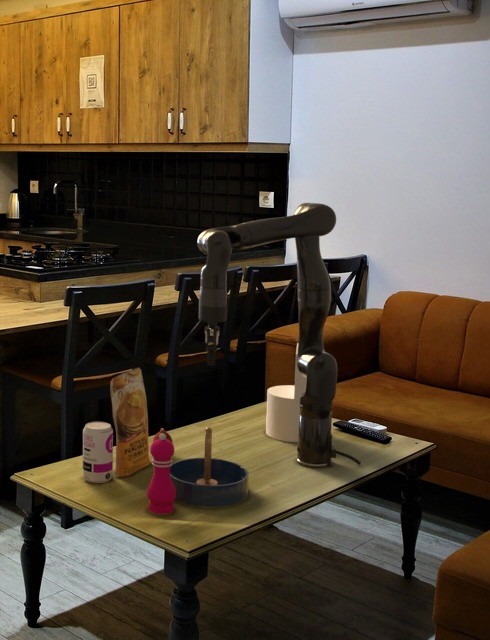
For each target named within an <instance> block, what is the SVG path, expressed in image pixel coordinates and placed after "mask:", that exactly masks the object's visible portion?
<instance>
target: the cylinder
mask: <svg viewBox="0 0 490 640" xmlns="http://www.w3.org/2000/svg"><path fill="white" fill-rule="evenodd" d="M298 343H299V342H297V343H296V350H295V364H294V365H295V367H294V384H293V385H292V384H290V385H289V384H286V385H285V384H284V385H282V384H281V385H274V386H271V387H269V388H267V390H266V417H265V418H266V419H265V434H266V435H267V436H268V437H270V438H271V439H275V440H278V441H280V442H281V441H282V442H287V443H298V432H299V407H300V395H301V394H302V393H304V392H305V391H306V382H307V378H305V377H304V376H302V375H301V374H300V372H299V370H298V367H297V354H298ZM324 352H326V350H325V349H324Z"/></svg>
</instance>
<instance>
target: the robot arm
mask: <svg viewBox="0 0 490 640" xmlns="http://www.w3.org/2000/svg"><path fill="white" fill-rule="evenodd" d="M336 224H337V215H336V212H335V210H334V209H333V208H332V207H331V206H329V205H327V204H324V203H319V202H303V203H301V204H299V205H298V206H297V208H296V209H295V210H294V213H293V214H292V215H288V216H287V215H286V216H281V217H271V218H262V219H256V220H251V221H247V222H242V223H238V224H235V225H229V226H228V225H227V226H219V227H212V228H208V229H205V230H203V231H201V233H200V234H199V235H198V237H197V241H196V243H197V244H196V245H197V248H198V250H199V251H200V252H201V253H202V254H204V255H207V257H206V263H205V265H202V267H201V269H200V279H199V280H200V285H199V286H200V287H199V292H198V293H199V295H198V321H200V322H203V323H207V326H206V325H205V326H204V335H205V337H204V338H205V339H204V340H205V341H204V343H205V345H206V347H205V350H206V365H207V366H208V367H209V366H210V367H213V366H215V365H216V358H217V350H218V349H217V346H218V345H219V336H220V330H221V329H220V326H218V323H223V322H226V321H227V315H228V313H227V312H228V311H227V310H228V292H227V291H228V290H227V284H228V283H227V281H228V280H227V275H228V268H229V266H230V261H231V257H232V250H247V249H251V248H255V247H259V246H265V245H267V244H272V243H277V242H280V241H284V240H290V239H294V241H295V249H296V270H297V274H296V275H297V308H298V309H297V310H298V313H297V314H298V342H297V343H298V354H297V367H298V370H299V372H300V374H301V375H302V376H304V377H305V378H307V382H306V391H305V392H304V393H302V394H301V395H300V407H299V432H298V442H297V448H296V449H297V450H296V451H297V453H296V454H297V457H296V462H297V463H298V464H299V465H301V466H304V467H309V468H326V467H331V466H332V459H337V455H339V456H342V457H345V458H346V459H349V460H350V461H352V462H354V463H355V464H357V465H358V466H361V464H362V461H361V460H359V459H357V458H356V457H354V456H352V455H351V454H348V453H346V452H343V451H340V450H337V448H336V445H335V444H333V433H332V425H333V423H332V422H333V402H334V400H335V398H336V394H337V384H338V374H339V373H338V372H339V371H338V362H337V360H336V358H335V357H334V356H333V355H332V354H330V353H328V352H326V351H324V350H325V348H324V347H325V346H324V328H325V324H326V321H327V318H328V316H329V313H330V310H331V305H332V287H331V279H330V275H329V272H328V270H327V267H326V265H325V262H324V260H323V257H322V253H321V247H320V246H321V245H320V242H321V241H320V240H321V239H320V237H324V236H326V235H328V234H330V233H331V232H332V231H333V230H334V228H335V226H336Z"/></svg>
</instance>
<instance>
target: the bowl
mask: <svg viewBox="0 0 490 640" xmlns="http://www.w3.org/2000/svg"><path fill="white" fill-rule="evenodd" d="M249 472H250V471H248V469H247V468H246V467H245V466H243V465H241V464H239V463H237V462H233V461H230V460H226V459H223V458H222V459H221V458H214V457H211V479H213V480H216V481H217V482H218V485H201V484H196V482H197V480H199V479H204V457H192V458H191V457H190V458H184V459H180V460H177V461H174V462H172V465H171V466H170V477H171V480H172V482H173V485H174V487H175V490H176V498H175V500H176V501H178V502H180V503H184V504H186V505H187V504H188V505H191V506H197V507H206V508H207V507H209V508H219V507H228V506H233V505H236V504H240V503H241V502H243V501H245V500H246V499H247V498H248V496H249V480H250V479H249V478H250V477H249V476H250V475H249Z"/></svg>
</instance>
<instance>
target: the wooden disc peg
mask: <svg viewBox="0 0 490 640" xmlns="http://www.w3.org/2000/svg"><path fill="white" fill-rule="evenodd" d="M212 444H213V429H212V427H209V426H208V427H206V428H205V429H204V452H203V453H204V454H203V455H204V457H203V458H204V479H199V480H197V482H196V484H201V485H218V482H217V481H216V480H213V479H211V458H212V449H213V448H212V446H213V445H212Z"/></svg>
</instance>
